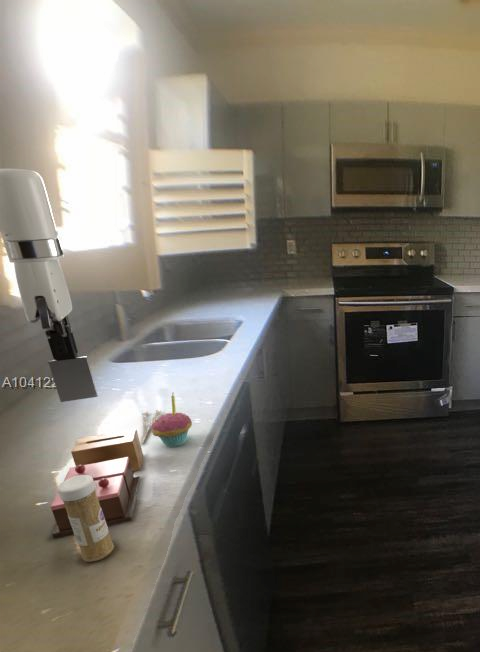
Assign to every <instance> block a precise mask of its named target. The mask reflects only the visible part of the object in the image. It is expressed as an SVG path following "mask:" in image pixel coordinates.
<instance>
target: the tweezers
mask: <svg viewBox="0 0 480 652" xmlns="http://www.w3.org/2000/svg"><path fill="white" fill-rule="evenodd" d="M161 413H162V410H161V409H160V410H159V409H158V410H157V409H155V414H154V415H153V416H152V419H151V420H150V422H149V424H148V427H146V426H147V425H146V416H148V415H149V411H146V412H141V415H142V441H141V444H142V445H143V444H144V443H145V441H146V438H147V435H148V433H149V431H150V429H151V428H152V424H153V423H154V422H155V420H157V419H158V416H159V415H160V414H161Z"/></svg>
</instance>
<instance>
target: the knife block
mask: <svg viewBox="0 0 480 652" xmlns="http://www.w3.org/2000/svg"><path fill="white" fill-rule="evenodd" d="M141 444H142V443H141V441H140V437H139V433H138V430H137V428H131V429H124V430H119V431H118V430H117V431H113V432H106V433H102V434H95V435H89V436H83V437H78V438H77V439H76V441H75V444H74V446H73V447H72V449H71V451H70V453H71V456H72V460H73V462H74V465H75V467H76V466H78V465H88V464H93V463H98V462H104V461H109V460H115V459H120V458H125V457H128V458H129V461H130V465H131V469H132V472H133V473H134V472H138V471H141V469H142V465H143V461H144V453H143V449H142V445H141Z"/></svg>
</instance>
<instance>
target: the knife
mask: <svg viewBox="0 0 480 652" xmlns="http://www.w3.org/2000/svg"><path fill="white" fill-rule="evenodd" d="M64 327H65V330H66V333H67V336H70V340H71V343H72V346H73V350H74V353H75V357H74V358H69V359H60V360H55V359H53V360H52V359H51V360H47V363H48V366H49V370H50V373H51V376H52V379H53V383H54V386H55V389H56V392H57V395H58V398H59V401H60V403H64V402H71V401H77V400H79V401H80V400H85V399H93V398H98V396H99V395H98V392H97V388H96V385H95V381H94V377H93V374H92V371H91V370H92V369H91V368H90V363H89V360H88V355H87V356H86V355H85V356H78V353H77V352H76V349H75V345H74V342H73V338H72V335H71V332H72V331H70V328H69V325H64Z"/></svg>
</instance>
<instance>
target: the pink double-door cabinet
mask: <svg viewBox="0 0 480 652" xmlns="http://www.w3.org/2000/svg"><path fill="white" fill-rule="evenodd" d="M78 475H89V476H91V477H92V478H93V480H94V483H95V492H96V495H97V498H98V501H99V504H100V507H101V509H102V512H103V515H104V518H105V521H106V524H107V527H108V526H112V525H113V526H114V525H117V524H122V523H125V522H130V521H132V520H133V516H134V511H135V507H136V503H137V499H138V498H137V497H138V493H139V489H140V485H141V481H142V478H141V476H134V471H133V472H132V469H131V465H130V461H129V458H128V457H125V458H120V459H115V460H109V461H104V462H98V463H93V464H88V465H78V466H76V465H75V466H72V467H70V468H69V469H68V471H67V473H66V475H65V477H64V479H63V481H65V480H67V479H69V478H71V477H74V476H78ZM50 509H51V512H52V515H53V517H54V520H55V523H56V524H55V527H54V529H53V531H52V532H51V536H52V538H53V539H55V538H59V537H64V536H69V535H74V532H73V529H72V527H71V524H70V521H69V518H68V514H67V511H66V508H65V505H64V502H63V500H61V498H60V495H59V492H58V491H57V493H56V495H55V497H54V499H53V501H52V503H51V505H50Z"/></svg>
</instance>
